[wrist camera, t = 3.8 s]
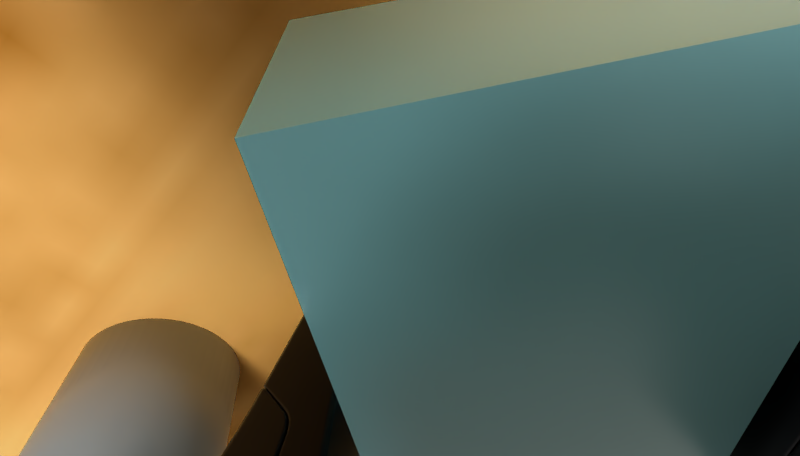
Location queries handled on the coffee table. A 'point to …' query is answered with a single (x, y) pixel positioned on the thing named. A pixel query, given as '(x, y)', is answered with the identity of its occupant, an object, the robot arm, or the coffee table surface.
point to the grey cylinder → (143, 395)
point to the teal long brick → (539, 218)
